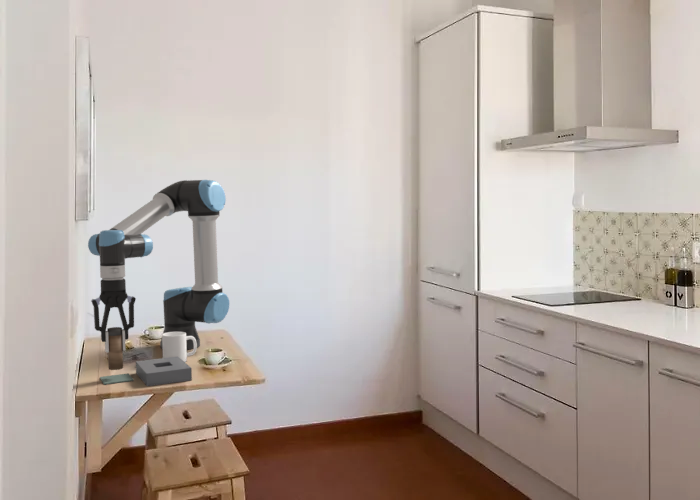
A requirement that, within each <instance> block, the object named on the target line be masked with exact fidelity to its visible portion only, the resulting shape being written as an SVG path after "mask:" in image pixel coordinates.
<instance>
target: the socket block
mask: <svg viewBox="0 0 700 500" xmlns="http://www.w3.org/2000/svg"><path fill="white" fill-rule="evenodd" d="M135 374H136V375H137V376H138V377H139V379H140V380H141V381H142V382H143V383H144V384H145V386H146V387H151V386H158V385H165V384H166V385H167V384H173V383H182V382H188V381H189V382H190V381H192V379H193V378H192V367H191V366H190V365H188V364H187V363H186V362H184V361H183V360H181V359H180V358H179V357H178V356H177V357H169V358H163V357H161V358H154V359H152V358H151V359H145V360H144V359H143V360H136V361H135Z"/></svg>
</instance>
